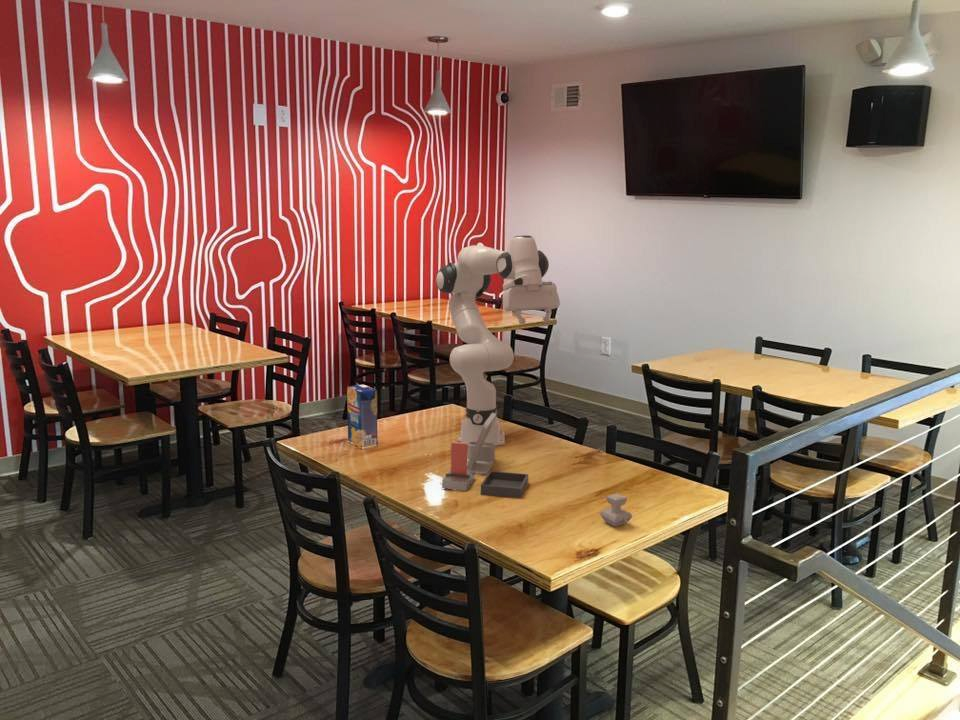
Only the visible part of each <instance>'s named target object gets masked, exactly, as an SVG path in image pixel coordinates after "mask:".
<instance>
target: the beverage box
mask: <svg viewBox="0 0 960 720" xmlns="http://www.w3.org/2000/svg"><path fill="white" fill-rule="evenodd" d="M346 395H347V397H346V400H347V401H346V402H347V441H348V440H349V441H350V442H352V443H354V444H356V445H358V446H359V447H361V448H362V447H368V446H373V445H378V389H376V388H373V387H370V386H368V385H366V384H364V383H363V384H355V385H349V386H347V387H346Z"/></svg>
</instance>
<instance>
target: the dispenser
mask: <svg viewBox="0 0 960 720" xmlns="http://www.w3.org/2000/svg"><path fill="white" fill-rule="evenodd" d="M475 479H476V474H475V470H467V475H458V474H451V469H449V471H448V473H445V476H444V477H443V478H442V480H441V481H442V483H441V484H442V488H448V489H456V490H455V491H459V490H464V491H463V492H467V491H468V490H467V489H469V488H470V487H471V485H472V484H473V482H474V481H475ZM473 480H474V481H473ZM471 483H472V484H471ZM469 486H470V487H469ZM442 488H441V489H442ZM448 489H447V490H448ZM466 490H467V491H466Z"/></svg>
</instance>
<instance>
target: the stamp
mask: <svg viewBox="0 0 960 720" xmlns="http://www.w3.org/2000/svg"><path fill="white" fill-rule="evenodd" d="M605 500H606V501H607V503H608V504H609V505H611V507H609V508H605V509H601V510H600V512H599V515H600V516H601V518H602V520H603V521H604V522H605V523H607V524H609V525H611V526H613V527H619V526H622V525H626V524H628V522H630V520H631V519H632V518H633V514H632V513H631V512H630V511H627V510H625V509H624V508H621V507H622V506H624V505H626V503H627V501H628V500H627V497H626V496H624V495H621V494H618V493H614V494H611V495H607V496H606V498H605Z"/></svg>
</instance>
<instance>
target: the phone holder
mask: <svg viewBox="0 0 960 720" xmlns="http://www.w3.org/2000/svg"><path fill="white" fill-rule="evenodd" d="M495 418H496V414H494V413H492V414H491V415H490V416H489V418H488V419H487V420H486V422H485V423H484V425H483V428H482V430H481V433H480V435H479V438H478V440H477V442H469V443H468V446H467V470H475V475H476V474H477V476H483V475H484V476H487V474H488V473H489V471H491V468H492V467H493V465H494V463H495V462H496V456H495V455H496V446H495V444H493V443H486V442H484V441H485V439H486V437H487V435H488V433H489V431H490V429H491V427H492V425H493V422H494V420H495Z"/></svg>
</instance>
